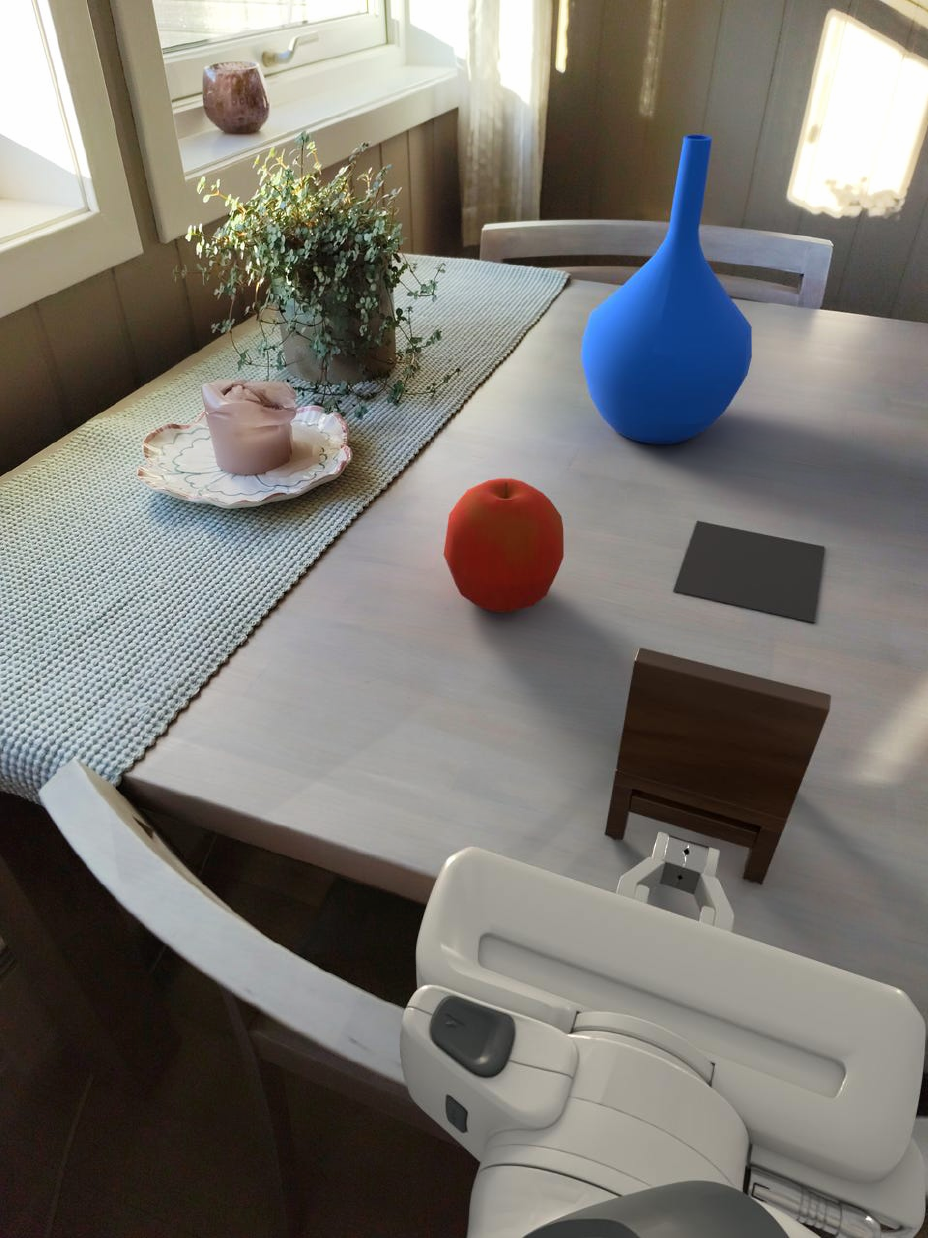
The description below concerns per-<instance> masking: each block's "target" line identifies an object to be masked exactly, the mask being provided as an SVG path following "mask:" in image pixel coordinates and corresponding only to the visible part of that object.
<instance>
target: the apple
mask: <svg viewBox="0 0 928 1238" xmlns="http://www.w3.org/2000/svg"><path fill="white" fill-rule="evenodd" d="M563 523H564V522H563V517H562V515H561V513H560V512H559V511H558V509H557V508H556V506H555V505H554V503H553V502H552V500H551V499H550V498H548V497H547V495H546V494H544V493H543V491H541V490H539V489H537V488H535V487H533V486H532V485H530V484H528V483H526V482H525V481H522V480H518V479H515V478H513V477H511V478H509V477H508V478H505V477H503V478H502V477H501V478H494V479H489V480H486V481H484V482H481V483H480V484H477V485H476V486H473V487H470V488H469V489H467V490H466V491H465V492H464V494H462V496H461V497H460V498H459V500H458V501H457V502H456V504H455V505H454V507H453V508H452V509H451V511H450V512H449V514H448V521H447V528H446V535H445V541H444V549H443V556H444V560H445V562H446V564H447V566H448V569H449V572H450V574H451V577H452V579H453V582H454V584H455V587H456V588H457V590H458V592H459V593H460V595H461V597H463V598H464V599H466V600H468V601H469V602H470V603H471V604H473V605H475V606H477V607H479V608H482V609H484V610H487V611H490V612H494V613H508V612H512V611H518V610H521V609H524V608H529V607H533V606H535V605H537V604H538V603H539V602H540V601H542V600H543V599H545V597H547V595H548V593H549V591H550V589H551V588H552V587H551V586H552V585H553V582H554V581H555V579H556V576H557V575H558V572H559V570H560V567H561V566H562V565H561V564H562V562H563V559H564V555H565V554H564V552H565V551H564V546H565V545H564V544H565V543H564V524H563Z"/></svg>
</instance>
